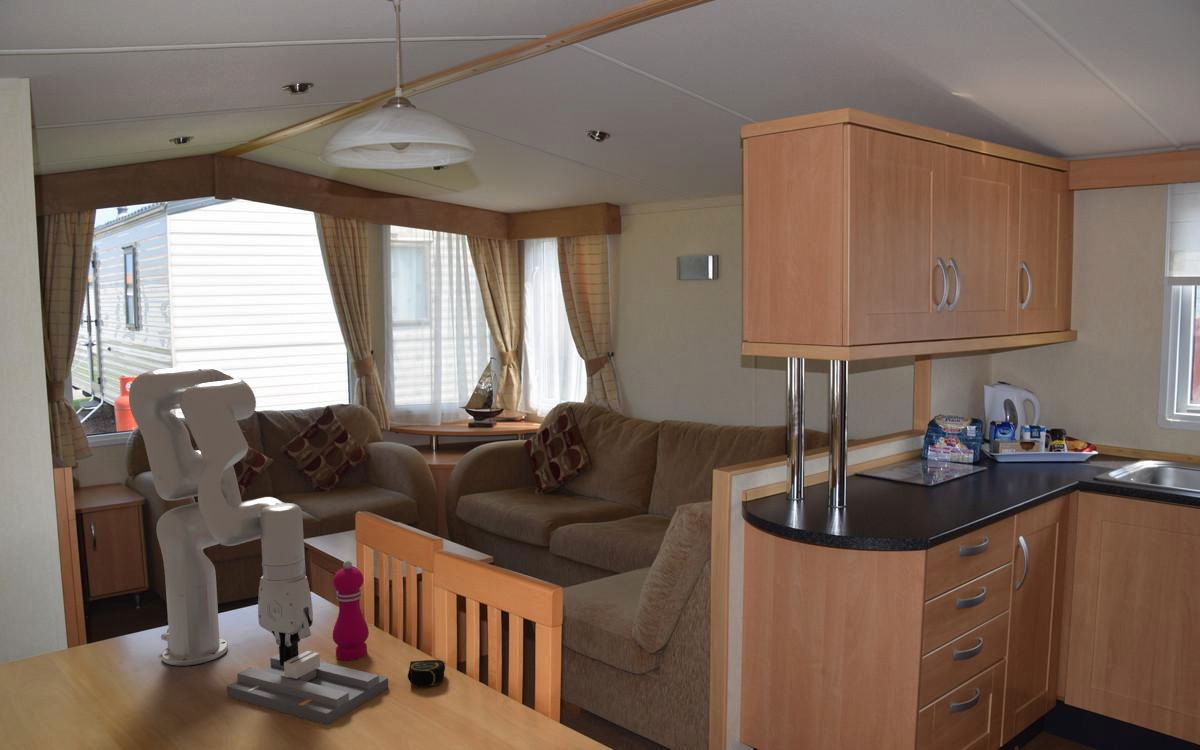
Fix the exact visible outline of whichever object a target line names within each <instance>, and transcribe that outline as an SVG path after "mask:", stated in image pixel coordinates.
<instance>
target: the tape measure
mask: <svg viewBox="0 0 1200 750" xmlns="http://www.w3.org/2000/svg"><path fill="white" fill-rule="evenodd" d="M445 672H446V665H445V662H444V661H443V660H440V659H439V660H438V659H424V660H411V661H410V662H409V668H408V673H407V679H408V681H409V683H410V684H411V685H412V686H416V687H432V686H435V685H438V684H440V683H441V682H442V681H443V680H444V678H445Z"/></svg>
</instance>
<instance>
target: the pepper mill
mask: <svg viewBox="0 0 1200 750" xmlns="http://www.w3.org/2000/svg"><path fill="white" fill-rule="evenodd" d="M342 567H343V568H340V569H338V570H337V571H336V572H335V574H334V575H333V579H332V580H333V581H332V584H333V587H334V589H336V590H337V591H336V594H335V595H336V600H337V601H338V608H339V609H338V614H337V615H338V616H337V619H336V621H335V624H334V626H333V630H332V641H333V642H334V643H335V644H336V645H337V646H336V647H335V657H336V659H338V660H341V661H353V660H354V661H355V660H358V659H362V658H363V657H365V656H367V654H368V644H367V643H366V641H367V640H368V638H369V635H370V634H369V633H370V632H369V627H368V622H367V621H366V619H365V617H364V616H363V613H362V610H361V605H360V601H361V598H362V590H361V587H362V586H363V584H364V576H363V573H362V571H361V570H360V569H358V568H357V567H353V562H352V561H350V560H345V561H344V562H343V565H342Z"/></svg>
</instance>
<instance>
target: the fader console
mask: <svg viewBox="0 0 1200 750" xmlns="http://www.w3.org/2000/svg"><path fill="white" fill-rule="evenodd" d="M269 661H270V665H268V666H266V667H264V668H261V669H257V668H254V667H248V668H245V669H243V670H241V671H240V672H237V673H236V677H237V681H235V682H233V683H230V684H229V685H227V686H226V697H228V698H231V699H235V700H238V701H241V702H245V703H249V704H252V705H256V706H259V707H264V708H265V709H266V708H267V709H270V710H274V711H278V712H281V713H284V714H289V715H292V716H295V717H300V718H303V719H306V720H309V721H314V722H318V723H320V724H324V725H329V724H331V723H333V722H334V721H336V720H338V719H339V718H341V717H343V716H344V715H346V714H348V713H350V711H353V710H354V709H356V708H357V707H359V706H360V705H361V706H362V705H363V704H364V703H366V702H367V701H369V700H372V699H373V698H374V697H376V696H378V695H379V694H381V693H382V692H384V691H386V690H387V689H389V677H385V676H382V675H379V674H375V673H371V672H367V671H362V670H357V669H353V668H350V667H346V666H341V665H336V664H332V663H329V662H324V661H321V660H320V667H318V668H316V674H317V677H315V678H313V679H311V680H309V681H307V682H305V681H301V680H297V679H293V678H289V677H287V676H285V675H284V666H281V665H280V657H279V653H277V654H275V655H273V656H271V657H270V659H269Z"/></svg>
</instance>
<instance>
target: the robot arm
mask: <svg viewBox="0 0 1200 750" xmlns="http://www.w3.org/2000/svg"><path fill="white" fill-rule="evenodd" d="M256 399H257V398H256V396H255V393H254V392H253V390H252V388H251V386H250V385H249V384H248V383H246V381H244V380H243V379H241V378H240V377H239V376H236V375H234V374H232V373H229V372H227V371H225V370H222V369H221V368H218V367H215V366H212V365H195V366H194V365H193V366H183V367H182V366H181V367H168V368H167V367H166V368H160V369H155V370H149V371H146V372H143V373H141V374H139V375H138V376H136V377H135V378H134V379H133V380H132V381H131V383H130V387H129V391H128V403H129V405H128V406H129V408H130V412H131V415H132V418H133V419H134V422H135V423H136V426H137V427H138V430H139V432H140V433H141V436H142V438H143V442H144V446H145V451H146V455H147V459H148V463H149V467H150V471H151V476H152V481H153V484H154V487H155V491H156V493H157V495H158V496H159V498H161V499H163V500H165V501H180V500H185V499H189V498H193V497H197V502H193V503H190V504H185V505H180V506H177V507H174V508H172V509H169V510H167V511H165V512H164V513H163V514H161V516H160V517H159V519H158V520H157V523H156V527H155V528H156V536H157V540H158V544H159V548H160V550H161V551H160V553H161V555H162V560H163V561H162V562H163V569H164V580H165V592H166V609H167V611H166V612H167V623H168V624H167V625H168V628H167V630H166V633H165V632H163V633H162V634H161V635H160V636H161V637H160V638H161V640H162V641H166V642H167V643H166V644H167V647H166V648H165V649H164V650H163V651H162V653H161V659H162V662H164V663H165V664H167V665H171V666H176V667H178V666H180V667H182V666H193V665H198V664H205V663H207V662H211V661H213V660H216V659H218V658H220V657H221V656H223V655H224V654H225V653H226V652H228V649H229V645H228V644H229V643H228V642H227V640H226V639H224V638H220V626H219V623H220V622H219V612H218V611H219V610H218V609H219V608H218V592H217V591H218V590H217V578H216V569H215V566H214V564H213V561H212V560H211V559H210V558H209V557H208V556H207V555H206V554H205V553H204V549H206V548H209V547H212V546H216V545H219V544H220V545H221V546H225V547H233V546H237V545H241V544H244V543H247V542H252V541H255V540H259V539H260V542H261V544H260V545H261V558H262V559H261V560H262V562H261V567H262V576H261V577H260V580H259V586H258V595H257V596H258V598H257V599H258V600H257V610H258V611H257V616H258V619H257V620H258V625H259V627H261V628H262V629H265V630H266V631H268V632H270V633H272V634H273V636H274V638H275V639H274V640H275V643H276V644H277V645H278V654H279V657H280V665H281V666H284V662H286V661H288V660H290V659H292V658H294V657H296V656H298V655H299V643H301V639H302V640H303V639H307V638H308V637H310V636H311V628H310V627H311V626H313V621H314V613H313V611H314V610H313V602H312V601H313V600H312V594H311V588H310V585H309V580H308V577H307V576H306V561H305V559H306V558H305V556H306V555H305V543H304V542H305V540H304V538H305V537H304V524H303V509H302V508H301V506H300V505H298V504H296V503H292V502H283V501H282V500H280V499H279V498H276V497H273V496H264V497H259V498H255V499H251V500H250V499H249V500H246V501H243V500H242V495H241V493H240V492H241V491H240V488H239V483H238V478H237V474H236V471H235V468H234V467H235V466H234V465H235V464H237V463H238V462H239V461H241V460H242V459H243V458H244V457H245V456H246V455H247V454H248V452H249V443H248V441H247V440H246V438H245V436H244V434H243V431H242V429H241V426H240V424H239V423H238V421H242V420H245V419H249V418H250V417H252V416H253V414H254V413H255V411H256V407H257V401H256ZM178 409H179V410H180V411H181V413H182V415H183V417H184V420H185V422H186V424H187V426H188V428H187V427H186V425H185V424H184V422H182V420H181V419H180V418H178V417H177V416H176V415H175V414H173V413H172V412H171V410H178ZM188 429H189V430H188ZM189 431H190V432H189ZM190 433H191V435H192V438H193V439H194V441H195V444H196V447H197V448H198V449H196V450H195V449H194V447H193V445H192V442H191V441H192V440H191V436H190Z"/></svg>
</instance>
